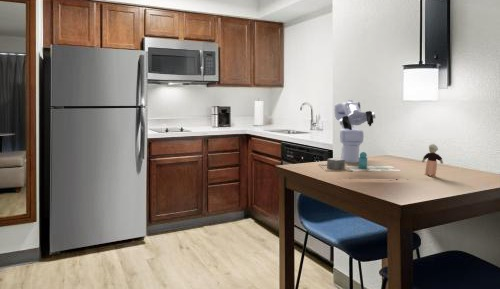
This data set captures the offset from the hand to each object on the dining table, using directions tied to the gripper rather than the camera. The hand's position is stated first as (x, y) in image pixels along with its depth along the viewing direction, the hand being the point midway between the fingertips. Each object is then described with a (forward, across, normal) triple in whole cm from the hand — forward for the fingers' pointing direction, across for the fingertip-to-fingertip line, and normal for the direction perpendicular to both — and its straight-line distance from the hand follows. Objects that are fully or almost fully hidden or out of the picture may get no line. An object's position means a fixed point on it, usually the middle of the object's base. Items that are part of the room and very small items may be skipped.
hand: (360, 125), depth 157 cm
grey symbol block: (+4, -13, +16) cm, 21 cm away
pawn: (+2, -2, +18) cm, 18 cm away
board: (+3, -4, +18) cm, 19 cm away
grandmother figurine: (+9, +22, +23) cm, 34 cm away
